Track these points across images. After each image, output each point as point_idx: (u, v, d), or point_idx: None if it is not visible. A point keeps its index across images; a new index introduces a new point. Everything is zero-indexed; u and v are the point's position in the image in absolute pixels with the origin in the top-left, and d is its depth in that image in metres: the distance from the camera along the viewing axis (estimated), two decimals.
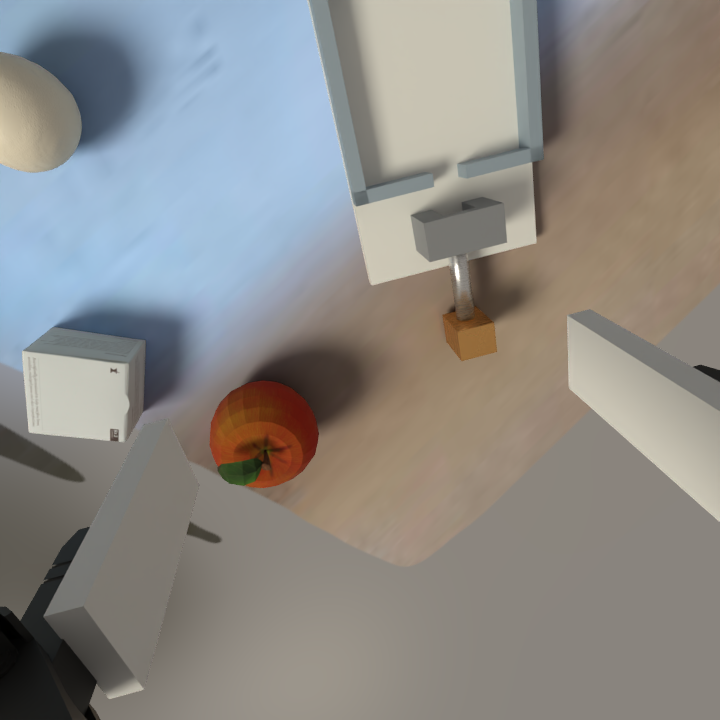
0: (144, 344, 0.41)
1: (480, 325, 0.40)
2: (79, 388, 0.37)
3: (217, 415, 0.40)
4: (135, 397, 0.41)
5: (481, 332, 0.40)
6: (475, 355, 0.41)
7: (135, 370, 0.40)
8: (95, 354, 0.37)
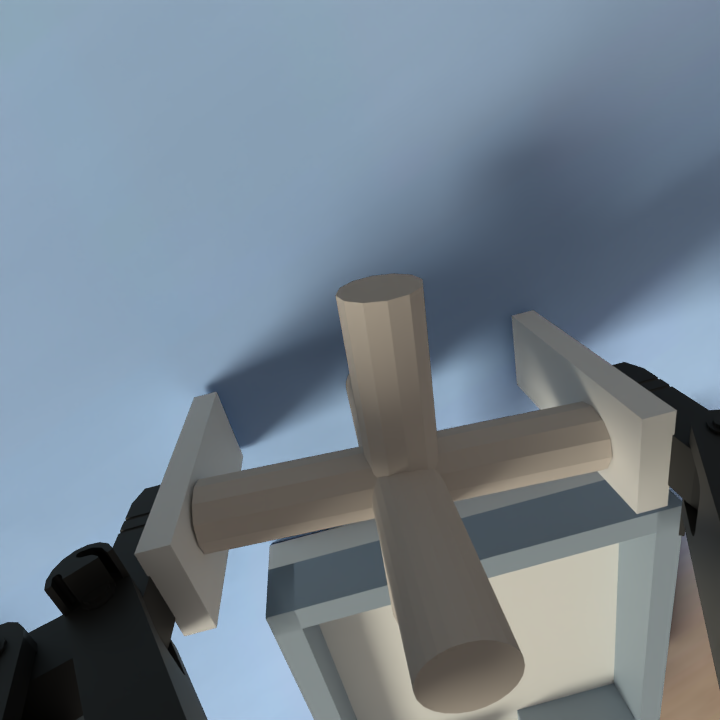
0: None
1: None
2: None
3: None
4: None
5: None
6: None
7: None
8: None
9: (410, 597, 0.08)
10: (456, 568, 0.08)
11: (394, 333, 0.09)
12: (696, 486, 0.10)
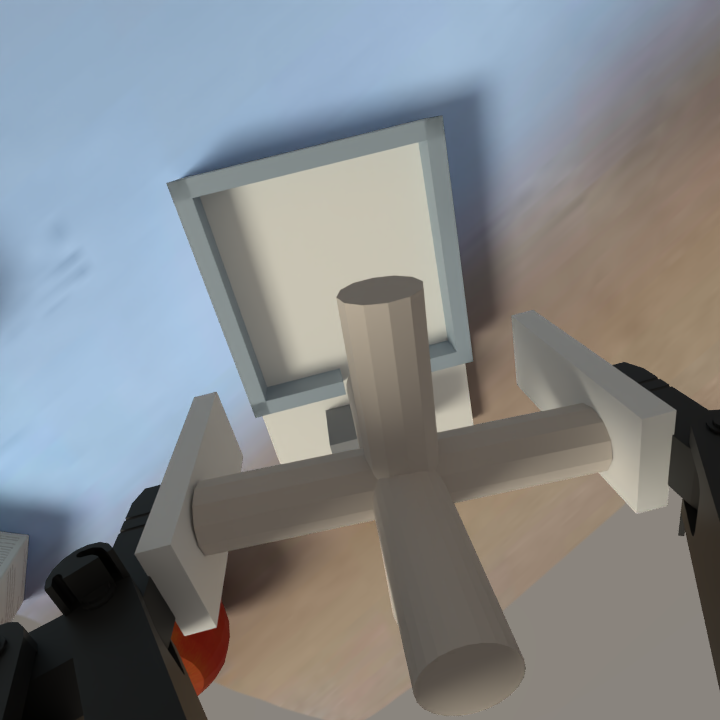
0: (26, 541, 0.36)
1: None
2: None
3: None
4: (7, 605, 0.35)
5: None
6: None
7: (8, 581, 0.34)
8: None
9: (411, 599, 0.08)
10: (456, 570, 0.08)
11: (395, 336, 0.09)
12: (696, 486, 0.10)
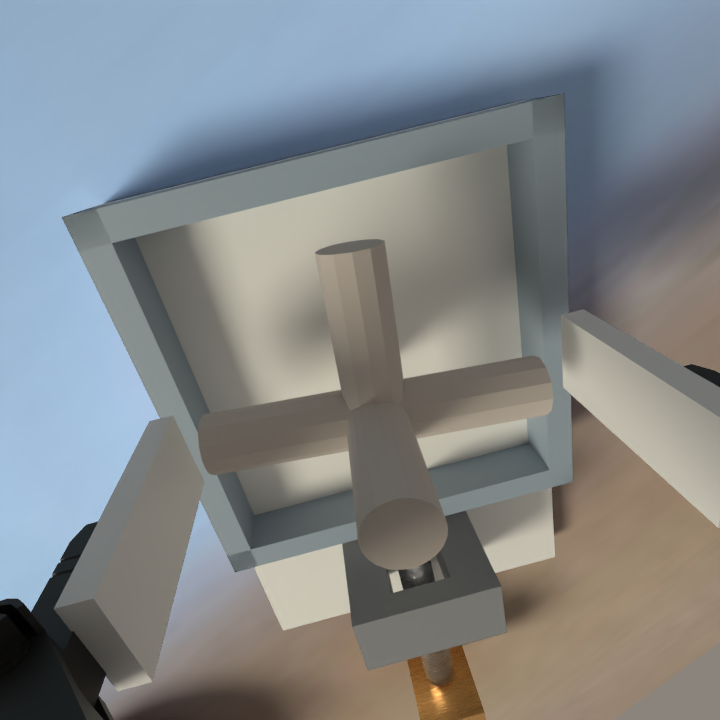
0: None
1: (461, 716, 0.24)
2: None
3: None
4: None
5: None
6: None
7: None
8: None
9: (362, 480, 0.10)
10: (400, 459, 0.10)
11: (359, 280, 0.11)
12: None
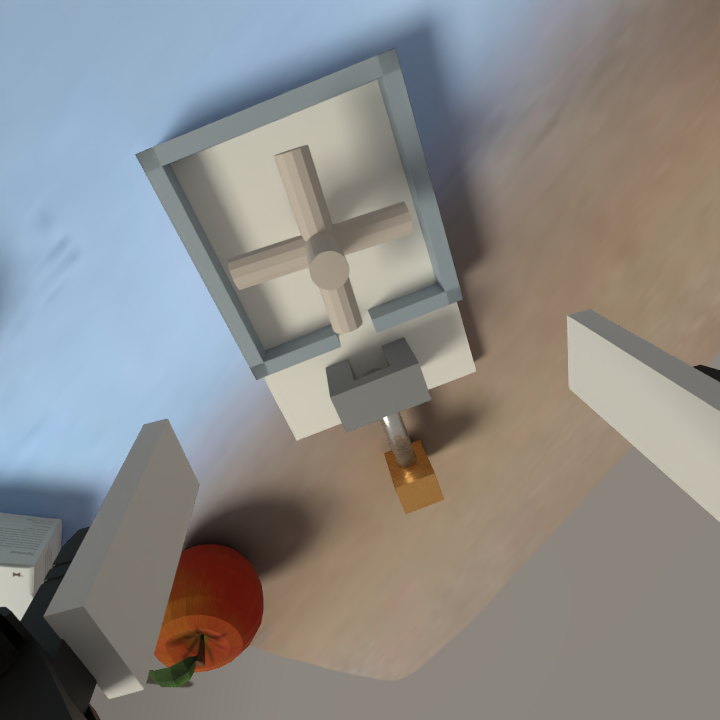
0: (60, 525, 0.38)
1: (420, 477, 0.35)
2: None
3: None
4: None
5: (422, 484, 0.35)
6: (420, 506, 0.36)
7: (46, 561, 0.36)
8: None
9: (310, 256, 0.22)
10: (326, 244, 0.22)
11: (297, 165, 0.23)
12: None
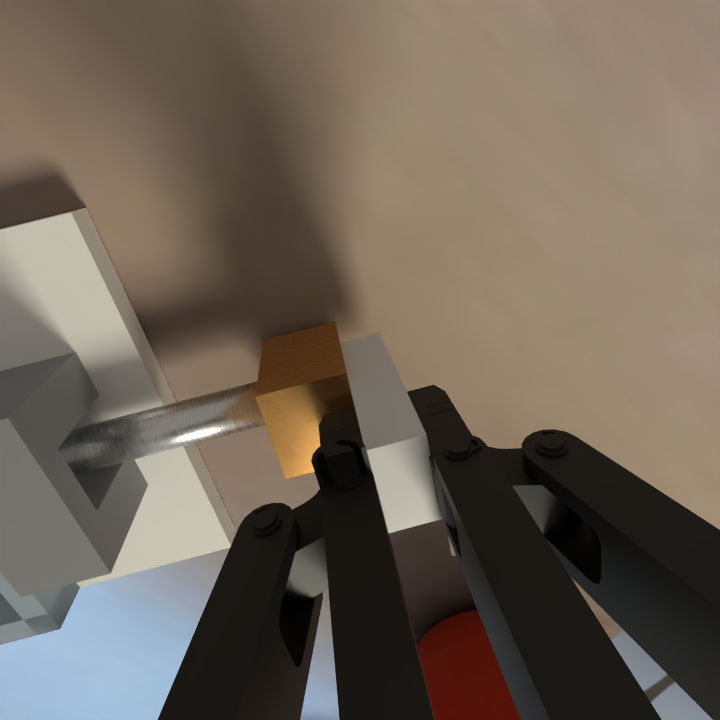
0: None
1: (266, 426, 0.14)
2: None
3: None
4: None
5: (286, 423, 0.14)
6: None
7: None
8: None
9: None
10: None
11: None
12: (452, 510, 0.11)
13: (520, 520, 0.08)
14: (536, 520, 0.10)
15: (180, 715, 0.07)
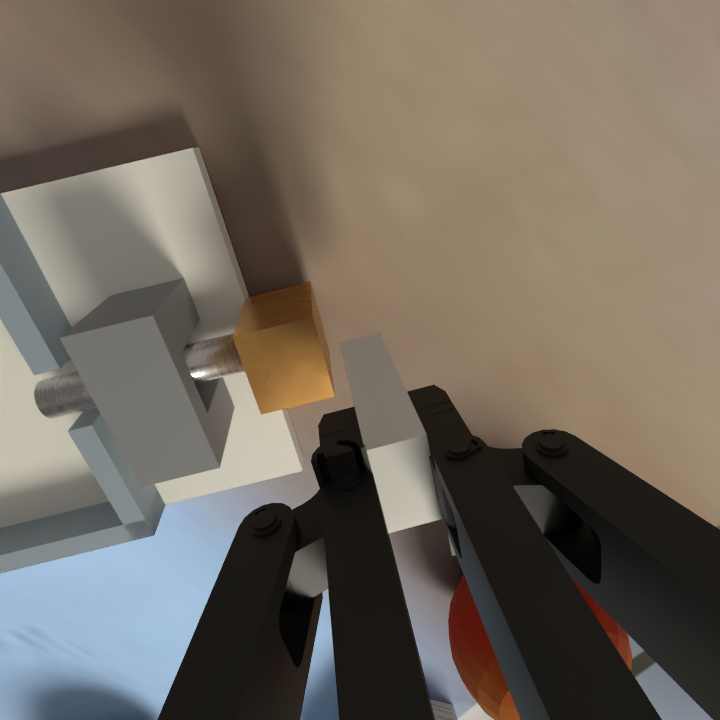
0: None
1: (243, 365, 0.16)
2: None
3: None
4: None
5: (260, 362, 0.16)
6: (321, 367, 0.17)
7: None
8: None
9: None
10: None
11: None
12: (452, 510, 0.11)
13: (520, 520, 0.08)
14: (536, 520, 0.10)
15: (180, 715, 0.07)
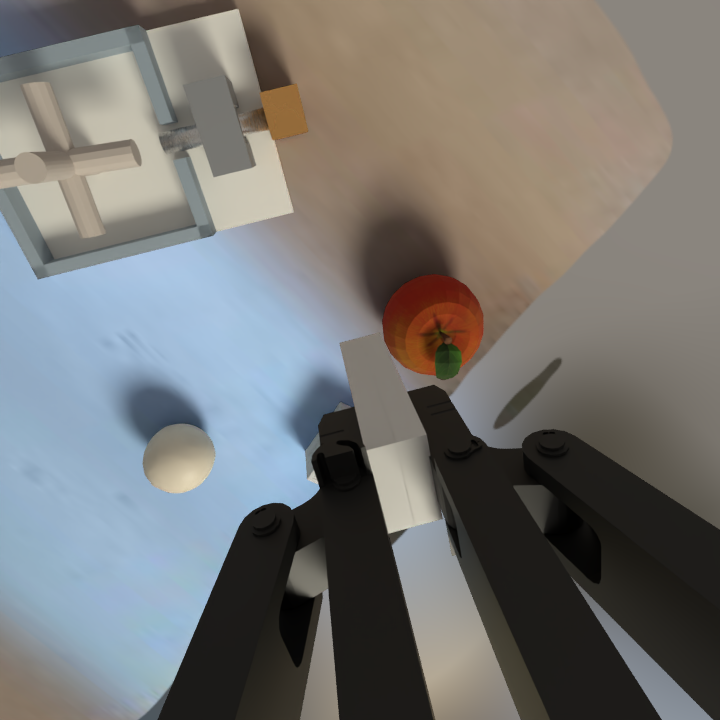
0: (342, 404, 0.51)
1: (264, 110, 0.35)
2: None
3: (403, 365, 0.45)
4: None
5: (272, 108, 0.35)
6: (301, 113, 0.35)
7: None
8: None
9: None
10: None
11: None
12: (452, 510, 0.11)
13: (520, 520, 0.08)
14: (536, 520, 0.10)
15: (180, 715, 0.07)
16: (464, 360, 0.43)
